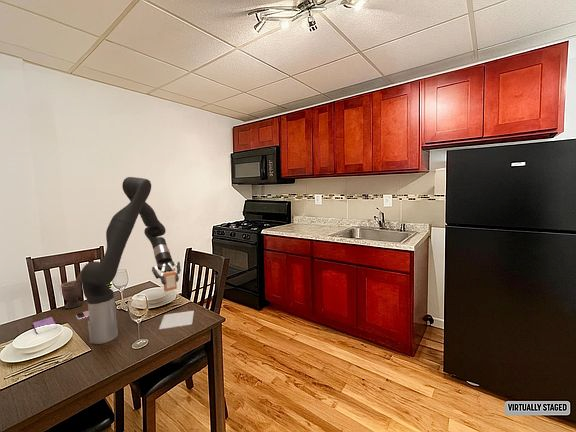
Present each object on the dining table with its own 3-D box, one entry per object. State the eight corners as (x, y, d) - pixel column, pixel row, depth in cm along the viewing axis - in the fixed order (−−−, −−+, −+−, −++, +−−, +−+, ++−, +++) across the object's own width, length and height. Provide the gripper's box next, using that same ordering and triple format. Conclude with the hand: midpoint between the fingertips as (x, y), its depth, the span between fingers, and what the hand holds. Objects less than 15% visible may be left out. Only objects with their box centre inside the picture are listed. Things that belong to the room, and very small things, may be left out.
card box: (164, 290, 137) (162, 273, 136) (175, 287, 140) (174, 270, 139) (165, 291, 135) (164, 274, 134) (177, 288, 138) (175, 271, 137)
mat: (158, 329, 120) (158, 329, 120) (164, 315, 133) (164, 314, 133) (191, 324, 124) (191, 324, 124) (194, 311, 137) (194, 310, 137)
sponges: (52, 320, 133) (51, 316, 132) (57, 328, 124) (56, 324, 124) (32, 326, 127) (32, 322, 127) (36, 335, 119) (36, 331, 119)
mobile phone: (75, 313, 136) (109, 303, 147) (75, 315, 136) (109, 305, 147) (78, 318, 131) (113, 307, 142) (78, 320, 131) (113, 309, 142)
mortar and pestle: (88, 299, 155) (84, 266, 152) (92, 303, 149) (87, 269, 147) (62, 306, 146) (58, 271, 144) (65, 311, 141) (60, 274, 138)
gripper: (148, 253, 137) (156, 282, 129) (177, 248, 146) (186, 275, 138) (147, 261, 141) (154, 289, 133) (175, 256, 150) (184, 282, 143)
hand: (171, 282), depth 136 cm, fingers closed on card box, 5 cm apart
